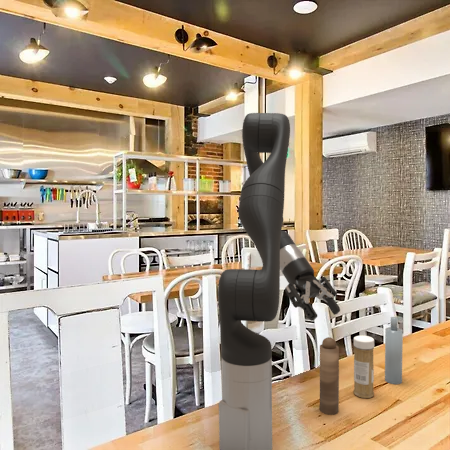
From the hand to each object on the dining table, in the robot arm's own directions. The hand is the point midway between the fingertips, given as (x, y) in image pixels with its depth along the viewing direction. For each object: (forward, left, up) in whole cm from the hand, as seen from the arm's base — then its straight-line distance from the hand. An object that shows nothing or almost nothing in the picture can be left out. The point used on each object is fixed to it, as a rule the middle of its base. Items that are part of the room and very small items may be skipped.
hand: (326, 315), depth 108 cm
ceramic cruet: (+9, -14, -16) cm, 23 cm away
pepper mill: (-14, -8, -16) cm, 23 cm away
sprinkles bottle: (-3, -11, -16) cm, 20 cm away
